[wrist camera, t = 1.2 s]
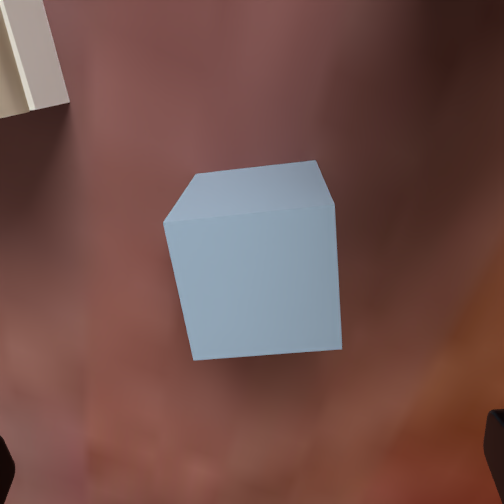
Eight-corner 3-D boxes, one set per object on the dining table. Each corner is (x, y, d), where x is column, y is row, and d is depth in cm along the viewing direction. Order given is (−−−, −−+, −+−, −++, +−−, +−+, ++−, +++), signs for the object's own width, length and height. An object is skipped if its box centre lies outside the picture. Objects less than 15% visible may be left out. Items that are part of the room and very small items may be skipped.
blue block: (315, 159, 18) (334, 204, 12) (322, 268, 20) (341, 349, 14) (196, 173, 18) (163, 222, 13) (215, 279, 20) (193, 360, 15)
